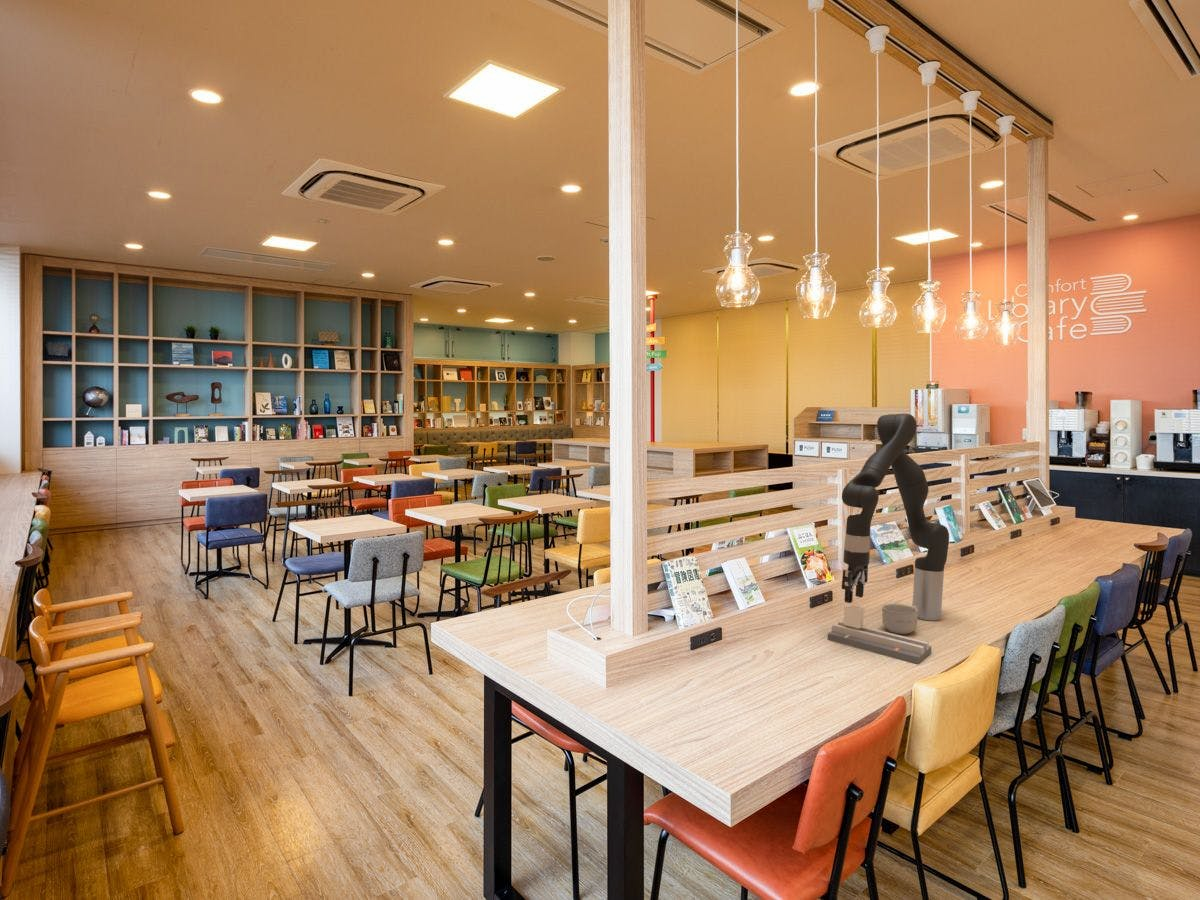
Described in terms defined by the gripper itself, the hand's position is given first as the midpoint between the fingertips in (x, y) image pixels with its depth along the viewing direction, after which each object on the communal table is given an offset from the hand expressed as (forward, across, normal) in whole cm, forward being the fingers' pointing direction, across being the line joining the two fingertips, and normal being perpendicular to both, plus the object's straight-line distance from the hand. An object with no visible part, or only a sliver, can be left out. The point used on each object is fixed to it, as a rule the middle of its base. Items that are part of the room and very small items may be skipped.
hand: (853, 599), depth 211 cm
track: (+13, 0, +8) cm, 15 cm away
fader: (+11, 0, 0) cm, 11 cm away
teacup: (+13, -20, +9) cm, 26 cm away
